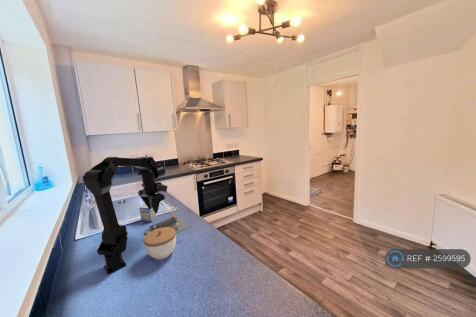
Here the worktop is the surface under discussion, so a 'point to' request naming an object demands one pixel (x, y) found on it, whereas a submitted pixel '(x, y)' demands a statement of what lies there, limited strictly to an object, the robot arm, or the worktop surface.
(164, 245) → the lidded bowl
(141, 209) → the medicine box
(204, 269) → the worktop surface
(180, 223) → the chassis plate
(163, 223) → the cable arm
